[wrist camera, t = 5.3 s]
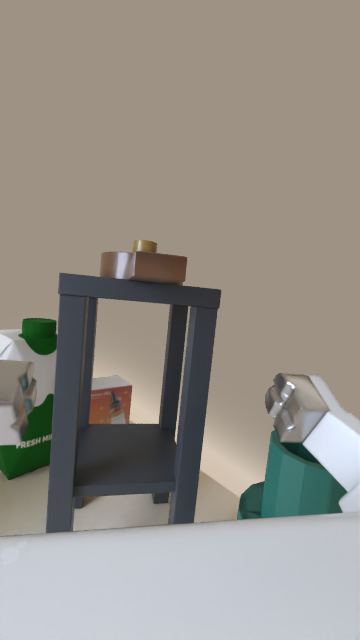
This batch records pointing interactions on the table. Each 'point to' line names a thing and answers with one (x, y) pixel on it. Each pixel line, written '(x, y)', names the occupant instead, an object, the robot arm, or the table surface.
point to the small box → (110, 400)
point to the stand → (129, 439)
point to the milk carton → (41, 349)
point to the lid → (144, 265)
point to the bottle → (291, 485)
